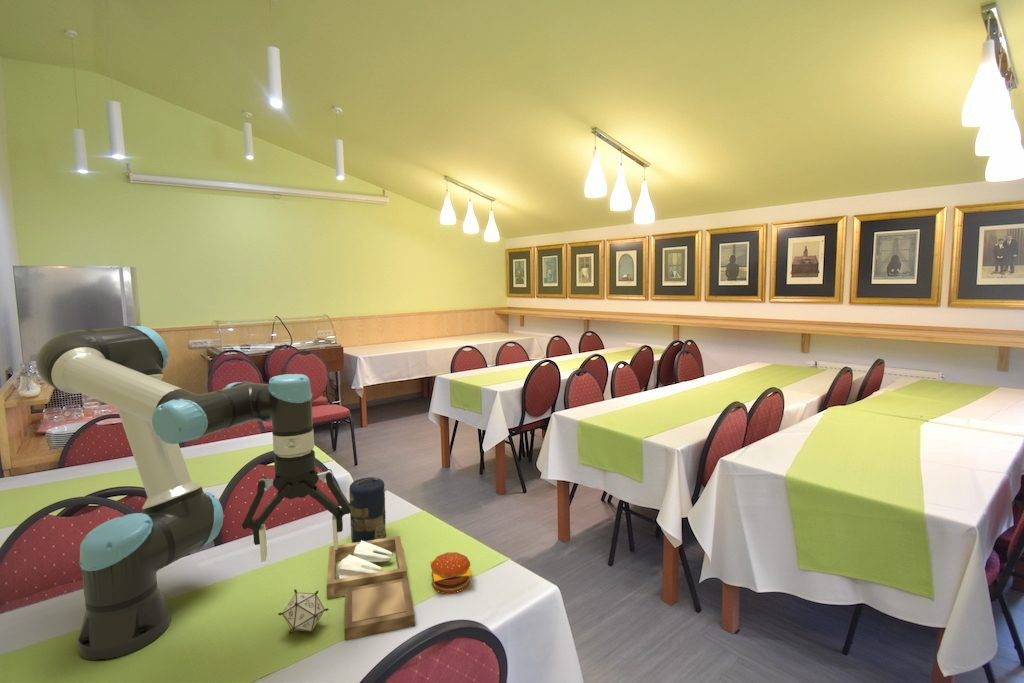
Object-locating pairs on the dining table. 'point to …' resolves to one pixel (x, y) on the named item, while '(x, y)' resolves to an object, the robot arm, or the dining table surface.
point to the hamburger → (450, 572)
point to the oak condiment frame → (339, 585)
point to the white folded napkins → (362, 560)
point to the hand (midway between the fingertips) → (300, 552)
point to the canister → (367, 509)
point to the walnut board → (378, 608)
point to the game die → (303, 612)
